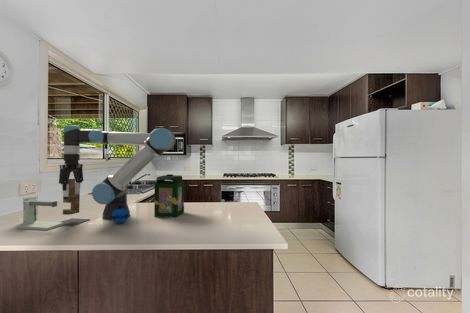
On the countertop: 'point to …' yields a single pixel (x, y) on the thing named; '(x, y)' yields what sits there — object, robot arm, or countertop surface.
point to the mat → (74, 221)
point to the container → (169, 196)
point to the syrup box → (34, 198)
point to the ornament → (119, 215)
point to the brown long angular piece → (72, 199)
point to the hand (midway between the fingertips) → (71, 195)
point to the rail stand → (30, 217)
